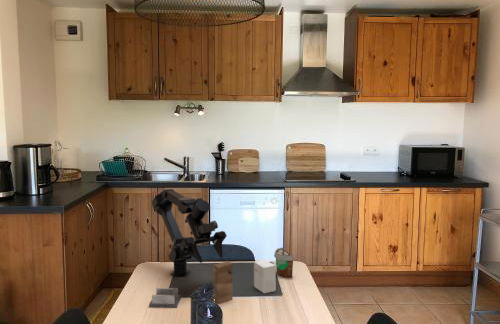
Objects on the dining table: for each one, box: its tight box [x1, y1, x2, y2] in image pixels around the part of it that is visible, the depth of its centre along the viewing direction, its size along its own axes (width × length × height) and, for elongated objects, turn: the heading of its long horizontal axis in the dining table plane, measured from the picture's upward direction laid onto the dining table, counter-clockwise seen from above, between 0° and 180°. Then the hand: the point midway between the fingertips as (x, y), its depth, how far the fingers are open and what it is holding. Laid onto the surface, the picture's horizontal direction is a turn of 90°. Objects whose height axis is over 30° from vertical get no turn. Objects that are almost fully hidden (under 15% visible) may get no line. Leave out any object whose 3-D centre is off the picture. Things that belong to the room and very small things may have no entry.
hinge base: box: [148, 287, 182, 309], centre depth 151 cm, size 8×10×4 cm
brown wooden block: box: [212, 260, 234, 305], centre depth 152 cm, size 4×6×14 cm, turn 127°
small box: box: [253, 259, 277, 294], centre depth 164 cm, size 8×6×10 cm
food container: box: [273, 247, 295, 278], centre depth 179 cm, size 12×6×10 cm, turn 17°
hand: (211, 259), depth 158 cm, fingers open, 9 cm apart
